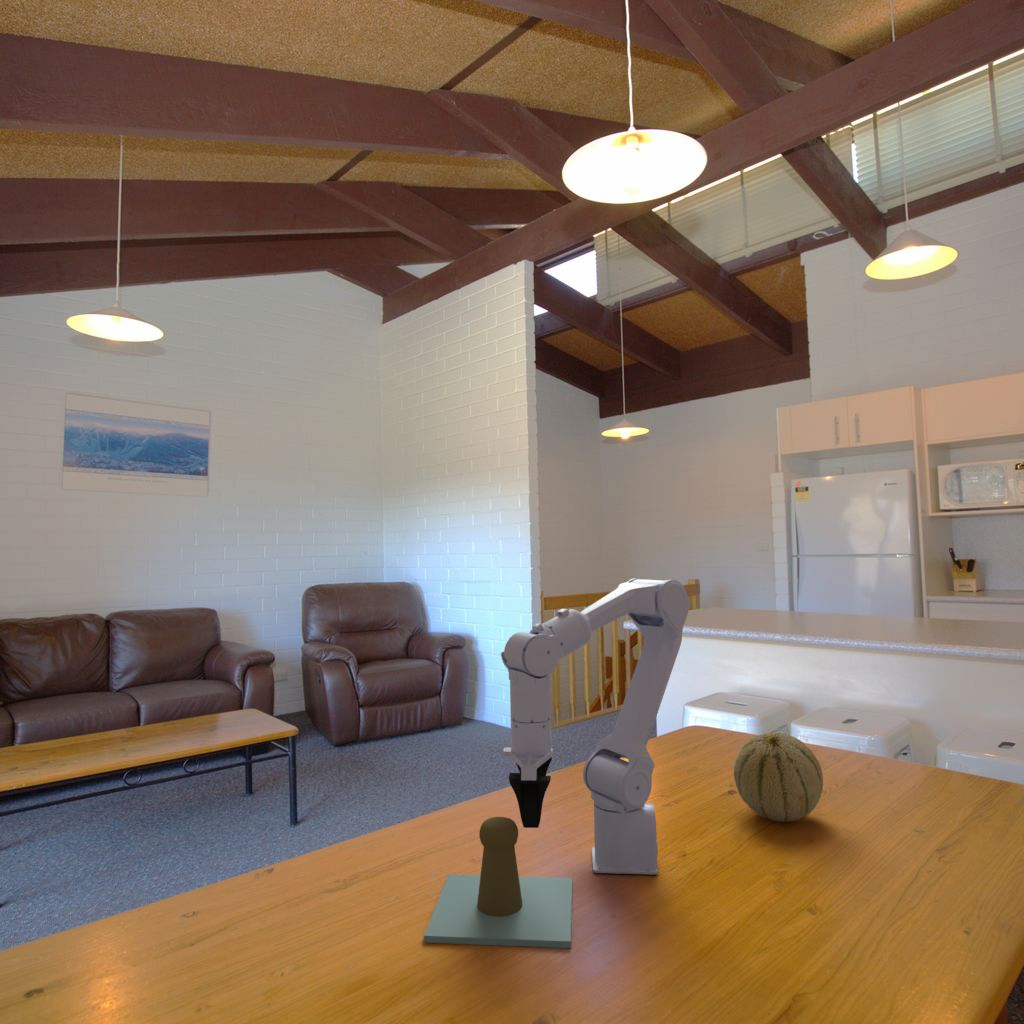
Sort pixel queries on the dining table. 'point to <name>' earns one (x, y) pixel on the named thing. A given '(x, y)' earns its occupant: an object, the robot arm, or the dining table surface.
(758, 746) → the cantaloupe
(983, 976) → the dining table surface
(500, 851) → the olive game pawn
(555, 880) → the teal board
